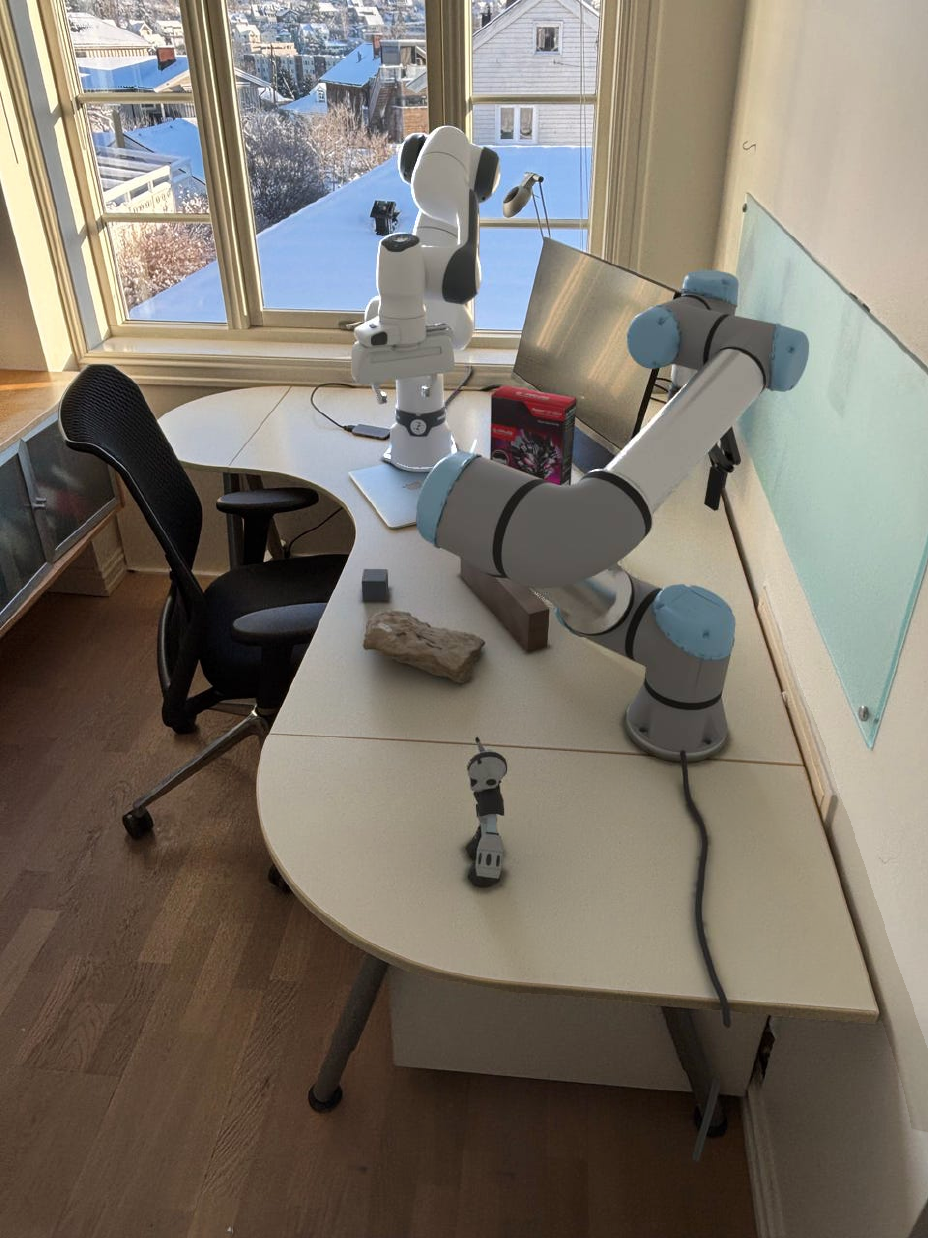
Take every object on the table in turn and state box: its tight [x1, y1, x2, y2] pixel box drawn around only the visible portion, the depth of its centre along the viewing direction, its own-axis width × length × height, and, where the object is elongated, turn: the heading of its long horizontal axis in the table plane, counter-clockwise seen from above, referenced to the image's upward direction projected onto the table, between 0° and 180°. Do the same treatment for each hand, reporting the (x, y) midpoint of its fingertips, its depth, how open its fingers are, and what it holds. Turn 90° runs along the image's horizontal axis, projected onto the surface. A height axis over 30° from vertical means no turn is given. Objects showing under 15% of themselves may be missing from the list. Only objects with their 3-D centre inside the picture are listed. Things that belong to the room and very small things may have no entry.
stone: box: [362, 609, 486, 684], centre depth 156 cm, size 21×15×6 cm
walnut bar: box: [460, 558, 551, 653], centre depth 169 cm, size 28×4×8 cm, turn 25°
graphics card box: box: [489, 384, 578, 486], centre depth 195 cm, size 17×7×27 cm, turn 62°
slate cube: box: [361, 568, 389, 603], centre depth 174 cm, size 4×4×4 cm
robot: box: [465, 736, 508, 888], centre depth 115 cm, size 20×5×20 cm, turn 3°
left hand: (404, 399), depth 180 cm, fingers open, 8 cm apart
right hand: (676, 515), depth 146 cm, fingers open, 13 cm apart
